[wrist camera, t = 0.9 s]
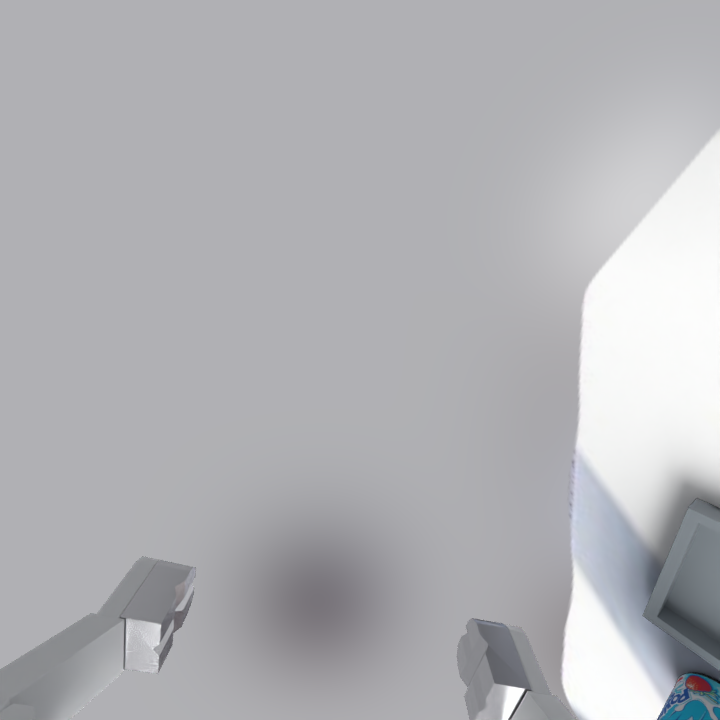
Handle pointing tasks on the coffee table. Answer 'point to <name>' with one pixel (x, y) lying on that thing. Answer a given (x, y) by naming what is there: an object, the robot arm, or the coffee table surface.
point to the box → (692, 585)
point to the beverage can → (693, 699)
